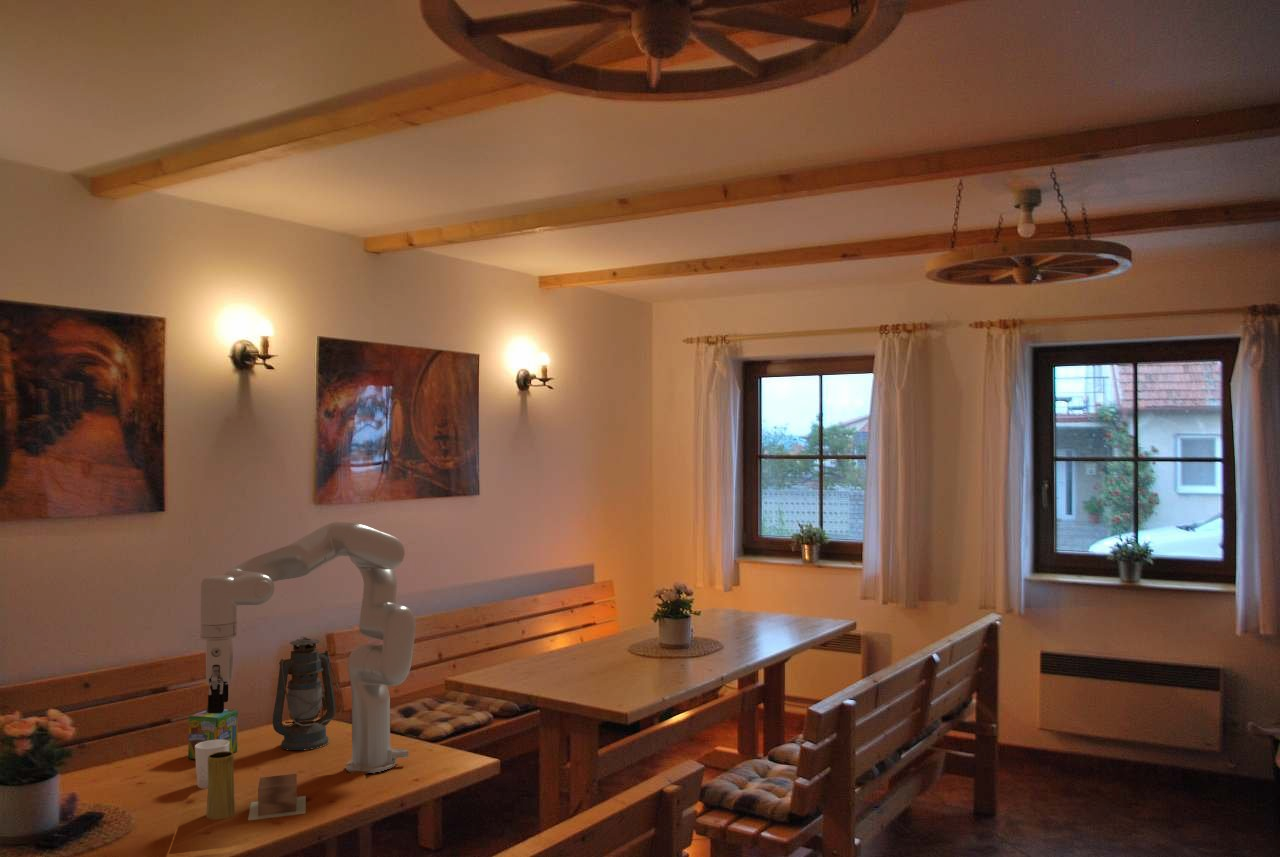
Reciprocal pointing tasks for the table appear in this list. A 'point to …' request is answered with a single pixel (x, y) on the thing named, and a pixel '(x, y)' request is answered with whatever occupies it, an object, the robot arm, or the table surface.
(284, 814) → the baseplate
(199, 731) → the chalk box
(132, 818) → the table surface
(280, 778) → the walnut block
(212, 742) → the white cup
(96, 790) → the table surface
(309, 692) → the lantern
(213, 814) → the vase
